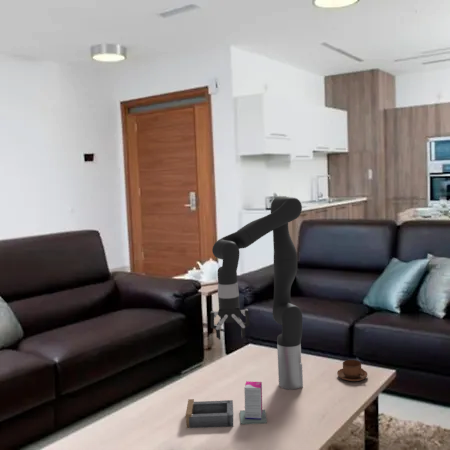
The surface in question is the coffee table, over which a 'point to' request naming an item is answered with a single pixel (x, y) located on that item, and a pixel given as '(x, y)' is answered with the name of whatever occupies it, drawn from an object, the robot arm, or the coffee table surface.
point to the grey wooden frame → (209, 414)
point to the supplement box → (253, 400)
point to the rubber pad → (252, 421)
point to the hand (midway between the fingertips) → (231, 338)
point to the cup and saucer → (352, 371)
